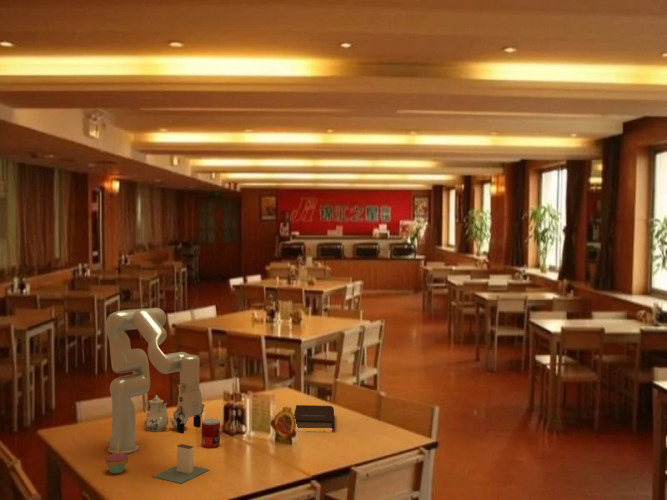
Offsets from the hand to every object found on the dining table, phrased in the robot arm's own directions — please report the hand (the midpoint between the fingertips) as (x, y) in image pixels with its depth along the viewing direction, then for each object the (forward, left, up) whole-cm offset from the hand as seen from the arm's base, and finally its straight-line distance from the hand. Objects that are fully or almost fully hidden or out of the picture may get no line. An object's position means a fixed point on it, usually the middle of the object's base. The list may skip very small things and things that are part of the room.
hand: (188, 429), depth 278 cm
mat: (0, -4, -16) cm, 17 cm away
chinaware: (-49, +40, -17) cm, 65 cm away
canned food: (-12, +30, -16) cm, 36 cm away
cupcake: (-23, -15, -16) cm, 32 cm away
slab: (0, -2, -16) cm, 16 cm away
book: (+10, +84, -17) cm, 86 cm away
